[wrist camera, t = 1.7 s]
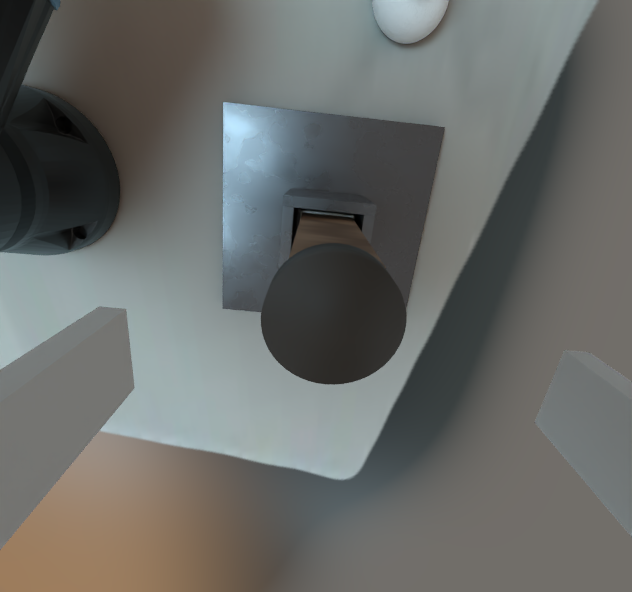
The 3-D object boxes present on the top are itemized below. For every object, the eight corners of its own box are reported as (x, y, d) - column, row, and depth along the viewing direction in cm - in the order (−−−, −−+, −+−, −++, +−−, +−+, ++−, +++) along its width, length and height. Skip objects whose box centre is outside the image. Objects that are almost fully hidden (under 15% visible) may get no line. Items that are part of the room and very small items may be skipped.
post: (292, 252, 34) (258, 378, 14) (297, 195, 32) (264, 245, 12) (347, 258, 34) (391, 389, 14) (355, 201, 32) (420, 260, 12)
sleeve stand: (225, 304, 38) (196, 348, 29) (226, 104, 31) (188, 78, 22) (399, 320, 39) (426, 369, 30) (440, 128, 32) (491, 113, 23)
